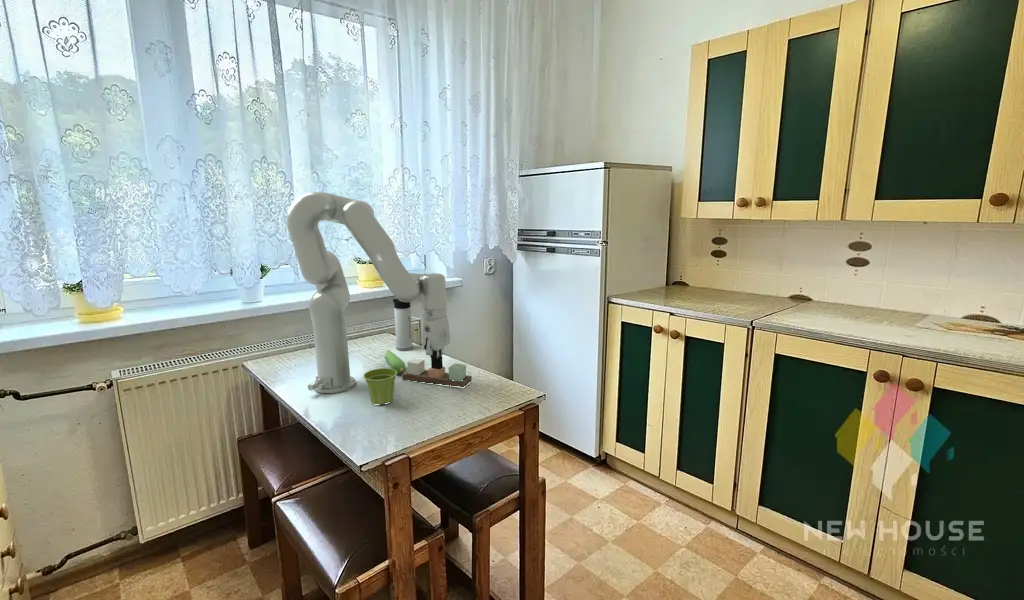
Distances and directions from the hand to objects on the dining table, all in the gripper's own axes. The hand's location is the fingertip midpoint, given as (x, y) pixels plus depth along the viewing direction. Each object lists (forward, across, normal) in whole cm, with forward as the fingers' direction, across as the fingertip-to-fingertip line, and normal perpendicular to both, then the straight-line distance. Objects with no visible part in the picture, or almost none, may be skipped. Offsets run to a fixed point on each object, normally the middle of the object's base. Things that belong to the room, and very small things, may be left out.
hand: (437, 368), depth 158 cm
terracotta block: (+4, 0, 0) cm, 4 cm away
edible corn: (+5, +6, +20) cm, 22 cm away
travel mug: (+5, +26, +29) cm, 39 cm away
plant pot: (+5, -20, +8) cm, 22 cm away
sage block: (+3, 0, -7) cm, 8 cm away
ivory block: (+2, 0, +8) cm, 8 cm away
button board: (+4, 0, 0) cm, 5 cm away
